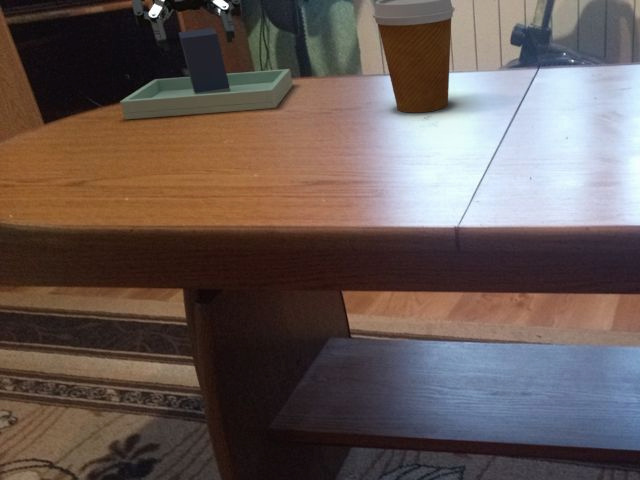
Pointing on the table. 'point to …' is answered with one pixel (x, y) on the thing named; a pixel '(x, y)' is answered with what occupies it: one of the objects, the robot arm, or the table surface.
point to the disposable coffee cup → (417, 51)
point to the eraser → (204, 61)
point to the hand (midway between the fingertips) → (198, 42)
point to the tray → (208, 95)
